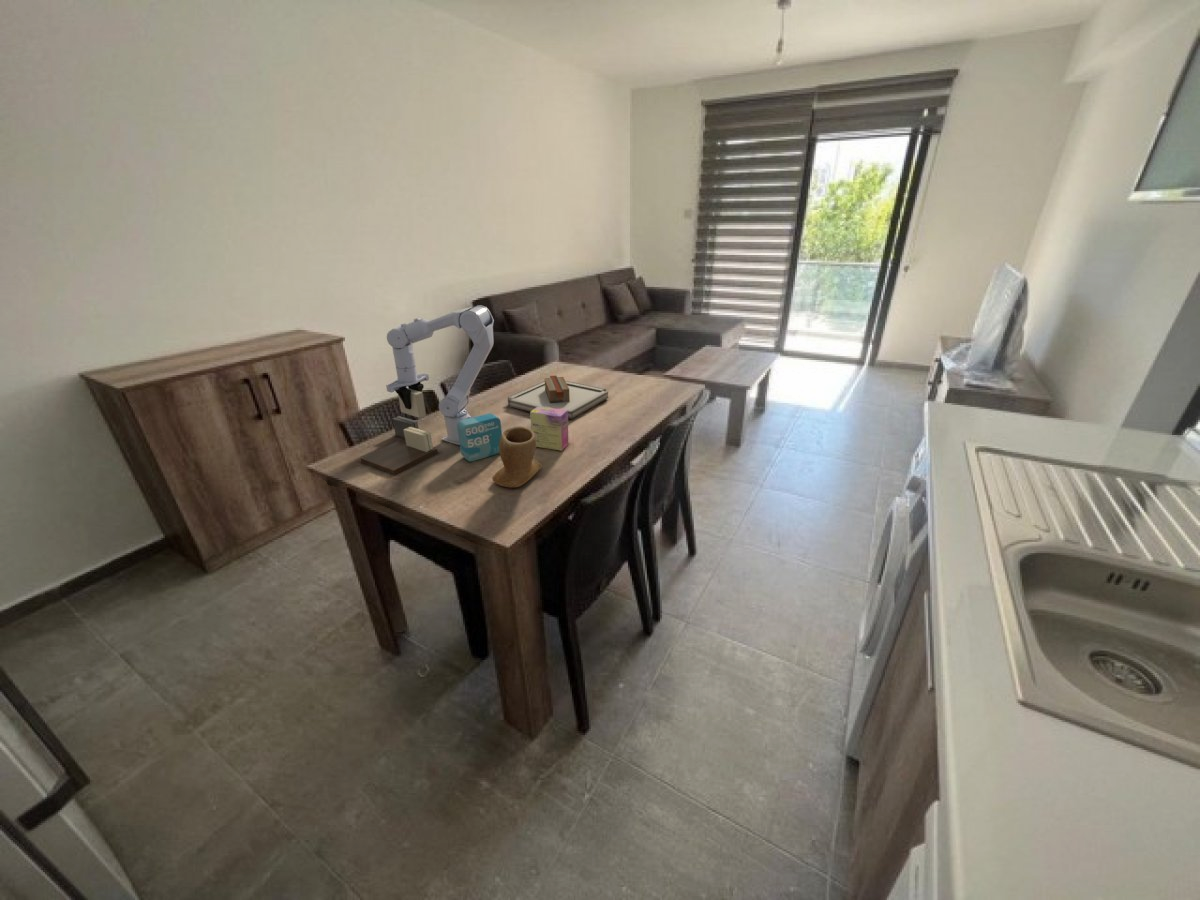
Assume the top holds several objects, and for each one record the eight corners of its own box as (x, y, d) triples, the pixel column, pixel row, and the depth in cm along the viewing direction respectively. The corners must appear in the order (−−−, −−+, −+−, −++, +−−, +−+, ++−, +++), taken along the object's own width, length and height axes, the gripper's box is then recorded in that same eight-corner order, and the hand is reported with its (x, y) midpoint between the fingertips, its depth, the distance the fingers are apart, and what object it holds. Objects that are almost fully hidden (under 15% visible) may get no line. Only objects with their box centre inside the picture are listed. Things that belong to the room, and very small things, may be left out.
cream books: (433, 448, 147) (430, 432, 145) (426, 452, 145) (423, 435, 143) (413, 442, 151) (410, 426, 149) (406, 445, 149) (403, 429, 147)
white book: (426, 415, 154) (422, 392, 151) (419, 418, 153) (416, 394, 149) (407, 409, 159) (403, 386, 155) (401, 412, 157) (396, 388, 153)
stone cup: (523, 495, 126) (519, 444, 119) (487, 485, 130) (480, 435, 124) (553, 470, 138) (550, 422, 131) (519, 461, 142) (514, 415, 136)
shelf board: (438, 453, 148) (437, 448, 147) (394, 475, 136) (393, 470, 135) (405, 442, 155) (404, 438, 154) (361, 462, 142) (360, 458, 142)
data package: (467, 463, 142) (461, 426, 136) (461, 457, 145) (455, 421, 140) (504, 452, 148) (500, 416, 143) (497, 447, 151) (493, 412, 146)
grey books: (420, 437, 158) (417, 421, 155) (413, 441, 156) (410, 424, 153) (402, 432, 162) (398, 415, 159) (395, 435, 160) (392, 418, 157)
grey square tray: (611, 397, 191) (611, 379, 188) (567, 422, 168) (566, 402, 165) (551, 384, 205) (550, 367, 202) (503, 406, 183) (501, 387, 180)
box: (569, 443, 153) (567, 409, 148) (562, 451, 149) (560, 416, 143) (539, 439, 156) (537, 405, 151) (532, 446, 152) (529, 412, 146)
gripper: (415, 358, 156) (421, 397, 162) (376, 369, 145) (384, 411, 151) (430, 362, 152) (436, 402, 159) (392, 373, 141) (399, 416, 147)
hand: (412, 406), depth 154 cm, fingers closed on white book, 2 cm apart
